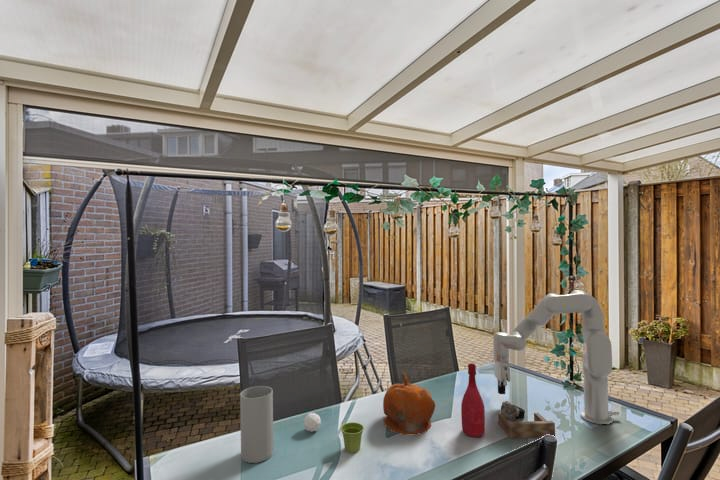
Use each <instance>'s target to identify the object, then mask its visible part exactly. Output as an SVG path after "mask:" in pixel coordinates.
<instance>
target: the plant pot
mask: <svg viewBox="0 0 720 480" xmlns="http://www.w3.org/2000/svg"><path fill="white" fill-rule="evenodd" d="M364 429H365V428H364V425H363V424H361V423H359V422H345V423H343V424H342V425H341V427H340V431H341V433H342V437H343V445H344V450H345V451H346V452H347V453H354V454H355V453H358V452H359V451H360V449H361V442H362V436H363V432H364Z"/></svg>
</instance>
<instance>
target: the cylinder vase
mask: <svg viewBox="0 0 720 480" xmlns="http://www.w3.org/2000/svg"><path fill="white" fill-rule="evenodd" d="M239 398H240V401H239V402H240V404H239V406H240V408H239V409H240V411H239V413H240V459H242V461H243V462H245V463H247V462H248V463H249V464H259V463H262V462H264V461H267V460H269V458H271V457H272V456H273V454H274V450H275V449H274V391H273V388H272V387H270V386H266V385H256V386H251V387H248V388H245V389H243V390H242V391H241V392H240V393H239Z"/></svg>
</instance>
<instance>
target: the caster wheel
mask: <svg viewBox="0 0 720 480" xmlns="http://www.w3.org/2000/svg"><path fill="white" fill-rule="evenodd" d="M501 403H502V404H501V406H500V413H499V414H502V415H503V416H504V417H505V418H506V419H507V420H511V421H516V418H517V417H521V418H523V417H525V413H526V411H525V409H524V408H523V407H520V406H518V405H515V404H512V403H511V402H510V401H508V400H506V401H503V402H501Z"/></svg>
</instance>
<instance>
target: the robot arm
mask: <svg viewBox="0 0 720 480" xmlns="http://www.w3.org/2000/svg"><path fill="white" fill-rule="evenodd" d="M573 313H575V314H576V313H581V317H582V318H581V319H582V320H581V321H582V340H583V342H584V344H585V345H586V351H584V353H582V354H583V355H582V356H581V357H582V358H581V361H582V363H581V364H582V374H583V376H582V377H583V402H584V404H583V406H584V410H582V411H580V416H581V418H582V419H583V420H585V421H587V422H590V423H592V424H593V423H594V424H597V425H602V424H607V425H610V423H611V424H613V423H614V418H613V416H619V415H620V412H619V410H613V409H612V408H609V388H608V387H609V381H608V379H609V378H608V377H609V376H610V375H611V373H612V371H613V350H612V342H611V339H610V337H609V336H608V334H606V332H605V321H604V313H603V310H602V307H601V305H600V303H599V301H597V300H596V299H595V297H593V296H592V295H591V294H590V293H588V292H586V291H584V290H581V289H574V290H572V291H571V292H570V293H569V294H559V295H558V294H557V293H553V292H552V293H548V294H546V295H545V296H544V297H543V298H542V299H541V300H540V301H539V302H538V304H537V305H536V306H535V307H534V308H533V309H532V310H531V311H530V312H529V313H528V314H527V316H526V317H524V319H523V320H521V322H519V324H518V325H517V326H516V327H515V328H514V329H513V330H512V331H511V332H510V334H508V333H507V332H503V331H498V332H497V331H496V332H494V334H493V360H494V363H493V374H494V377H495V378H496V379H497V393H498V394H499V395H506V387H507V386H508V383H510V382H511V380H512V377H511V367H510V350H512V351H523V350H524V349H525V348H526V346H527V339H529V338H530V337H531V335H532V334H533V333H534V332H535V331H537V330H539V329H542V328H544V327H545V326H546V325H547V324H548V323H549V321H550V320H551V319H552V318H553V317H554V316H555V315H560V314H573Z"/></svg>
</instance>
